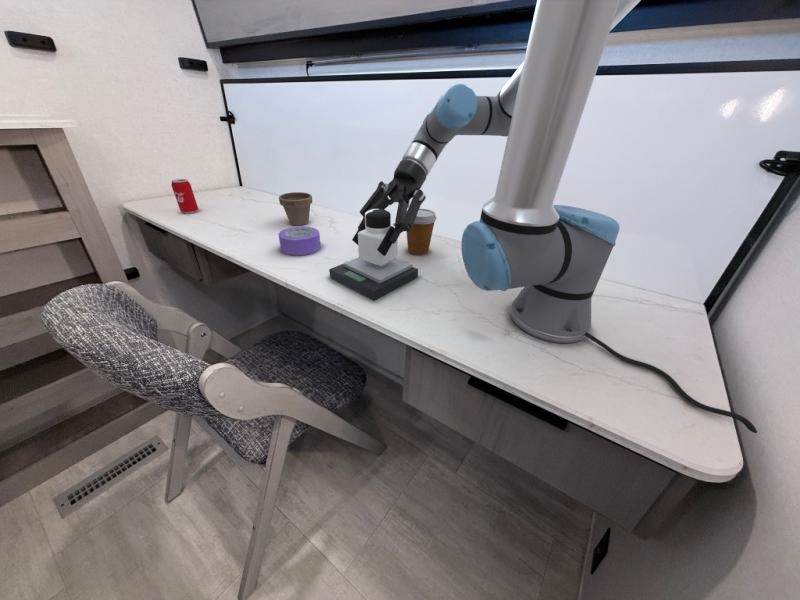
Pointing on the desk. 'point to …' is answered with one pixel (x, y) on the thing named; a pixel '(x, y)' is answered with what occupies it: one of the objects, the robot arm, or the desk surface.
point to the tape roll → (299, 240)
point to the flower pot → (296, 207)
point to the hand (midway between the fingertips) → (368, 247)
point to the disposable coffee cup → (421, 232)
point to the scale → (374, 276)
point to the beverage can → (184, 195)
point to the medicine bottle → (375, 237)
